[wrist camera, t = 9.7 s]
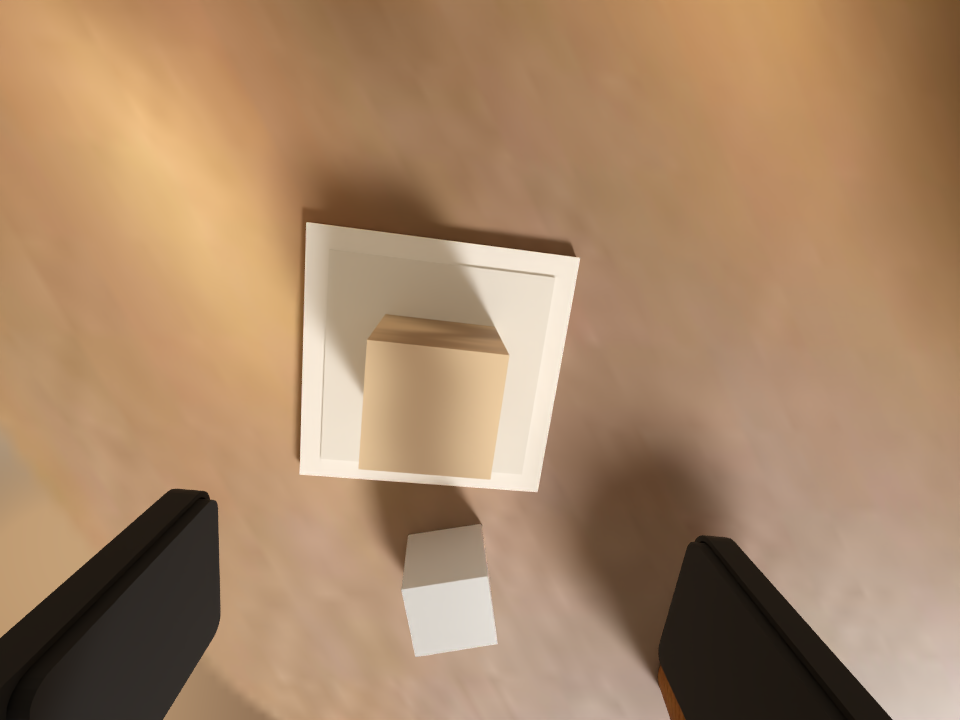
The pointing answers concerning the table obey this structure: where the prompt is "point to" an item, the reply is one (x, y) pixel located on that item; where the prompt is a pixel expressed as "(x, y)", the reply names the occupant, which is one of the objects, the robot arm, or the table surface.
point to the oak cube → (432, 397)
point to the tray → (439, 296)
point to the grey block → (448, 591)
